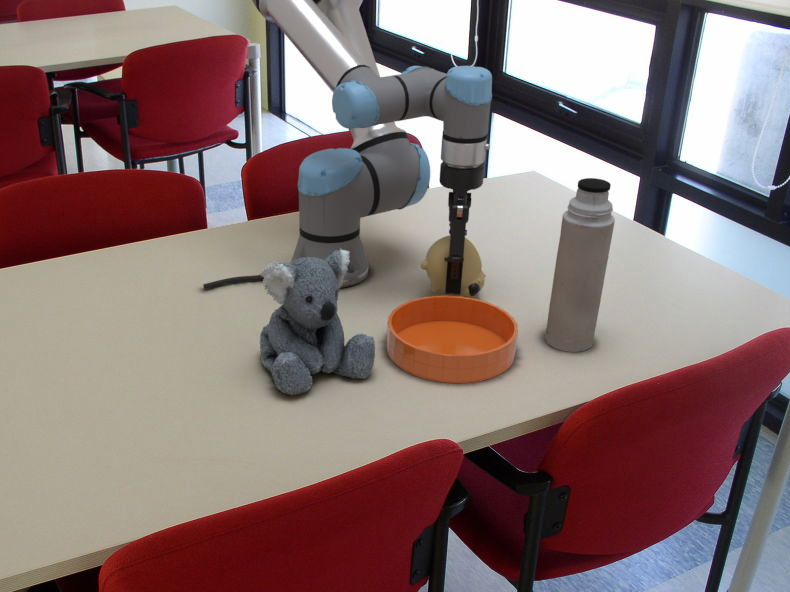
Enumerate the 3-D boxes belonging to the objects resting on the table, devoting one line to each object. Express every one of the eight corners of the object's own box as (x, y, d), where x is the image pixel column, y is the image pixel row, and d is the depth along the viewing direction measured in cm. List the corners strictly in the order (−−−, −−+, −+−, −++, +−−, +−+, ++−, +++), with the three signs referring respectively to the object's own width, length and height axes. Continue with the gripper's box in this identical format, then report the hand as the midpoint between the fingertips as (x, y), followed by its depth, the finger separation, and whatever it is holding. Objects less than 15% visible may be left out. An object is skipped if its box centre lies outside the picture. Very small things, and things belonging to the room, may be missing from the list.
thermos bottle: (547, 326, 159) (570, 171, 144) (594, 333, 156) (622, 176, 142) (542, 347, 152) (565, 187, 138) (590, 355, 150) (619, 193, 135)
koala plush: (283, 404, 137) (280, 287, 127) (236, 352, 151) (230, 243, 141) (381, 377, 144) (386, 264, 134) (328, 330, 158) (329, 224, 148)
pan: (382, 378, 144) (383, 350, 141) (391, 317, 162) (392, 292, 159) (517, 387, 141) (521, 359, 139) (511, 324, 159) (514, 299, 157)
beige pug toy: (446, 318, 166) (492, 290, 159) (406, 268, 163) (451, 237, 157) (459, 295, 173) (503, 267, 167) (420, 246, 171) (464, 216, 164)
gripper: (486, 185, 145) (474, 309, 157) (483, 143, 164) (473, 257, 176) (439, 183, 146) (430, 306, 158) (442, 142, 165) (434, 255, 177)
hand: (453, 280), depth 167 cm, fingers closed on beige pug toy, 10 cm apart
